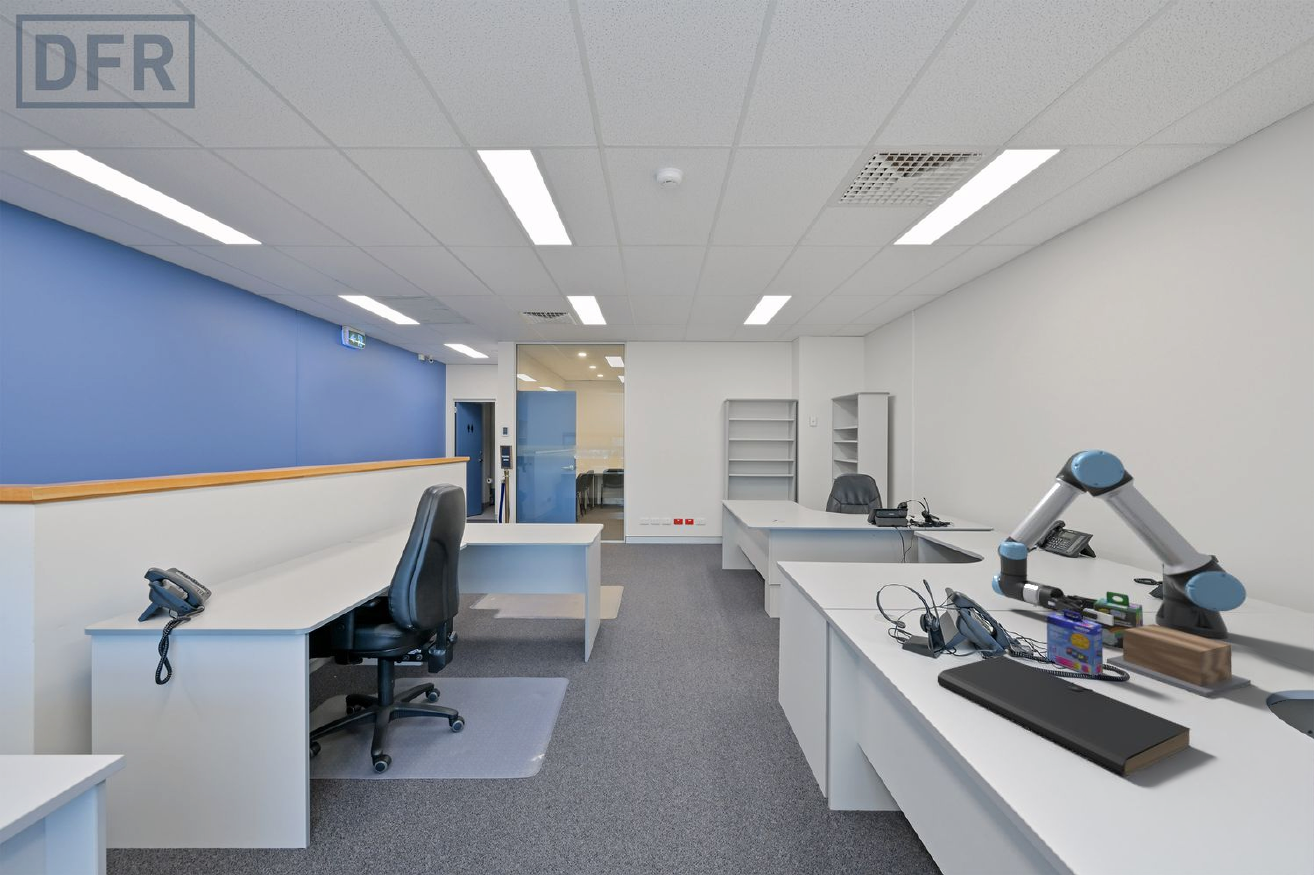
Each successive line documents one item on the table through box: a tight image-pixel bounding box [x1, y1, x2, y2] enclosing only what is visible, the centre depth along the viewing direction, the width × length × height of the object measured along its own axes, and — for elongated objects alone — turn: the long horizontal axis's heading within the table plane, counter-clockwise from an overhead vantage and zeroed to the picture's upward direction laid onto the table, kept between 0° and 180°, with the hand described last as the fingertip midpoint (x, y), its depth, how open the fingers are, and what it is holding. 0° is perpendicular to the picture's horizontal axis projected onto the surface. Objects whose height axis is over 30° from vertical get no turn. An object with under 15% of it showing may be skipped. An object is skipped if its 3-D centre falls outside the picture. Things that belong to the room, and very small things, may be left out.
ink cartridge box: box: [1046, 609, 1104, 676], centre depth 119 cm, size 10×6×14 cm, turn 27°
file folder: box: [937, 655, 1191, 778], centre depth 97 cm, size 33×4×24 cm
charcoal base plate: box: [1106, 655, 1252, 698], centre depth 117 cm, size 20×18×1 cm
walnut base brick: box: [1122, 623, 1233, 687], centre depth 117 cm, size 14×14×8 cm
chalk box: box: [1093, 591, 1144, 649], centre depth 135 cm, size 9×9×15 cm
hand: (1127, 618), depth 133 cm, fingers open, 13 cm apart
